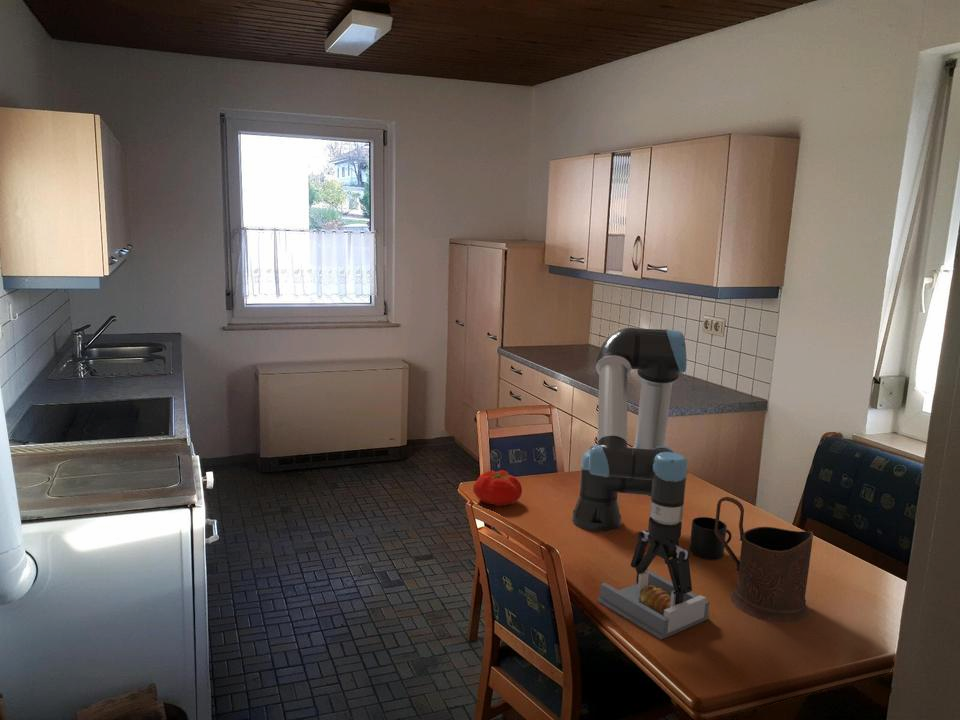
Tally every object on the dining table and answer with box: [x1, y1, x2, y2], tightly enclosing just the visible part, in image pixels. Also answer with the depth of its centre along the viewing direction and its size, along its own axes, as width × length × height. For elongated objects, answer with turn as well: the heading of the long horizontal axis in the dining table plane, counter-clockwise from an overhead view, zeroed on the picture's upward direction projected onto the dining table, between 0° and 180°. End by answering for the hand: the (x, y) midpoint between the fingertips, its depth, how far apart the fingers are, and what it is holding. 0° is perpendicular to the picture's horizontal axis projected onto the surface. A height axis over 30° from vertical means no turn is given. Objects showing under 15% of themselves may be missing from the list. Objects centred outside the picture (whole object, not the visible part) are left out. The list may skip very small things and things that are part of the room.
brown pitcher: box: [715, 496, 814, 625], centre depth 183 cm, size 18×24×25 cm
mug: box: [689, 516, 732, 561], centre depth 211 cm, size 9×12×9 cm
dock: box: [597, 569, 710, 640], centre depth 178 cm, size 20×17×6 cm
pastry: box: [639, 585, 671, 614], centre depth 177 cm, size 9×7×4 cm
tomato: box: [472, 469, 523, 507], centre depth 243 cm, size 14×16×10 cm
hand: (657, 606), depth 177 cm, fingers closed on pastry, 9 cm apart
